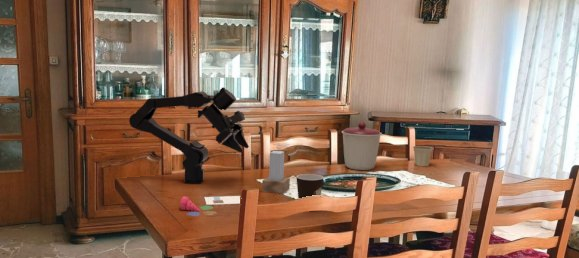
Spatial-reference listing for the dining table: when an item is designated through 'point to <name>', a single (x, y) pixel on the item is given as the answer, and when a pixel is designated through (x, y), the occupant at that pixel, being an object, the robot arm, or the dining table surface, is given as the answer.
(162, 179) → the dining table surface
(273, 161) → the tall brick
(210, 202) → the page
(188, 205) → the toy pieces
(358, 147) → the canister
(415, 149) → the flower pot
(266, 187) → the base block
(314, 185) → the coffee mug
